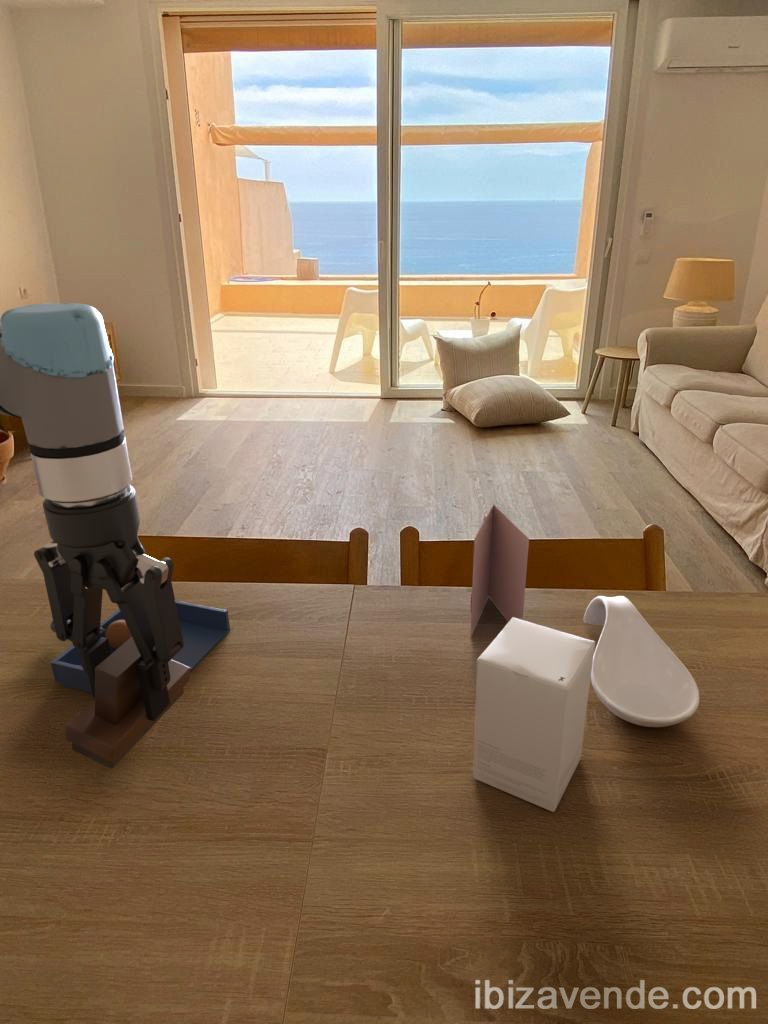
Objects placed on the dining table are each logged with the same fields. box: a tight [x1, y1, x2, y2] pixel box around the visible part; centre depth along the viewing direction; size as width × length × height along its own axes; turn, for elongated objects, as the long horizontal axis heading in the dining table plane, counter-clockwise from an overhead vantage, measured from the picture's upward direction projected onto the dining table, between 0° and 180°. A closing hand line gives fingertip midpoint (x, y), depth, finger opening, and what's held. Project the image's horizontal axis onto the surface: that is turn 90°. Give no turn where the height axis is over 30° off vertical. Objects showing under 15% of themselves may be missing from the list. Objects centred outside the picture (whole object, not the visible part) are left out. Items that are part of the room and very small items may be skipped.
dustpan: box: [50, 599, 231, 694], centre depth 92 cm, size 23×17×3 cm
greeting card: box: [469, 503, 530, 638], centre depth 95 cm, size 11×7×15 cm, turn 160°
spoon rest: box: [582, 595, 700, 728], centre depth 85 cm, size 24×12×7 cm, turn 0°
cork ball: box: [105, 620, 132, 650], centre depth 92 cm, size 4×4×4 cm
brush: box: [65, 637, 191, 770], centre depth 68 cm, size 5×12×10 cm, turn 161°
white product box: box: [472, 617, 596, 813], centre depth 70 cm, size 9×9×15 cm
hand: (132, 704), depth 69 cm, fingers closed on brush, 5 cm apart
